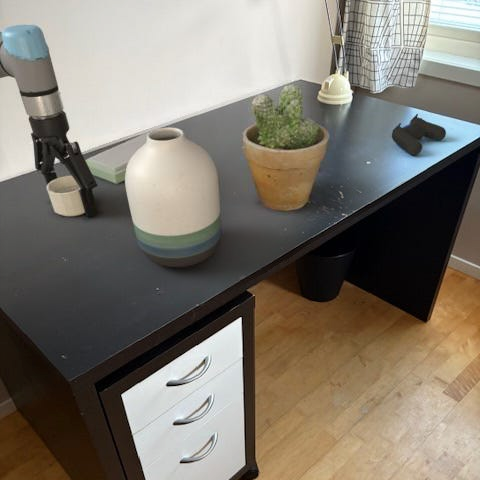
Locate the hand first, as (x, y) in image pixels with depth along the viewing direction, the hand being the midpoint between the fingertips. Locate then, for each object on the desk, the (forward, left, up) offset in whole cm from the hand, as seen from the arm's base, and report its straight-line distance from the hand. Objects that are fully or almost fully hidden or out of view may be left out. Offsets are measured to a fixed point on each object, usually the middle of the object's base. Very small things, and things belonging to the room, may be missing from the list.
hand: (74, 206), depth 113 cm
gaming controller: (+52, +78, 0) cm, 93 cm away
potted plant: (+39, +31, 0) cm, 50 cm away
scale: (-8, +27, 0) cm, 28 cm away
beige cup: (0, 0, 0) cm, 0 cm away
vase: (+34, +1, 0) cm, 34 cm away
